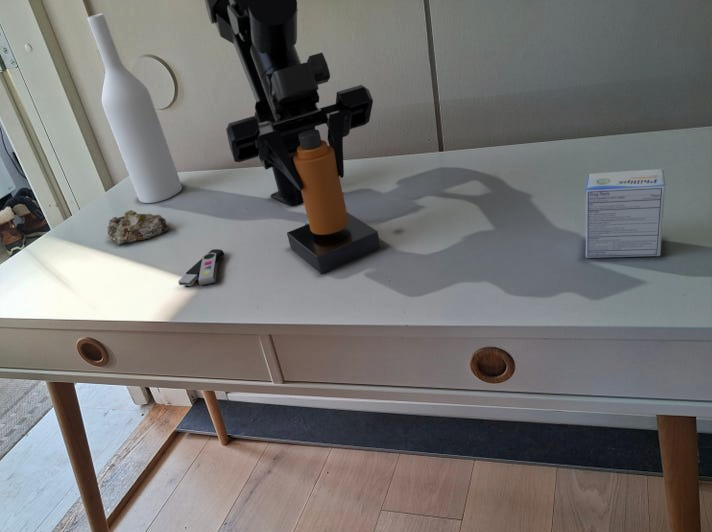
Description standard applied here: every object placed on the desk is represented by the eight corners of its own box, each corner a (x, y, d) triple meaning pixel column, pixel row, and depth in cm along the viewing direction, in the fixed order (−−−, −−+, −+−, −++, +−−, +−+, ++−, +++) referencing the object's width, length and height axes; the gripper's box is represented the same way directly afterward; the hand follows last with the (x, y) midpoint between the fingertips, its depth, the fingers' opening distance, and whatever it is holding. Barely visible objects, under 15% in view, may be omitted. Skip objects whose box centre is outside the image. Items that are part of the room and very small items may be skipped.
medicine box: (659, 238, 81) (664, 167, 76) (660, 258, 78) (666, 185, 73) (587, 240, 84) (587, 172, 79) (585, 259, 81) (585, 189, 76)
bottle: (189, 189, 126) (127, 9, 109) (148, 207, 123) (78, 24, 106) (172, 180, 132) (110, 7, 115) (132, 197, 129) (63, 22, 112)
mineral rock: (91, 236, 111) (110, 201, 116) (105, 255, 114) (123, 221, 119) (151, 233, 108) (168, 198, 112) (163, 254, 111) (179, 219, 116)
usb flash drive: (212, 254, 102) (210, 248, 101) (242, 256, 99) (240, 249, 99) (178, 286, 96) (176, 279, 95) (209, 288, 93) (207, 281, 93)
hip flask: (381, 248, 93) (378, 231, 91) (321, 274, 91) (317, 256, 89) (341, 222, 102) (337, 205, 101) (285, 245, 100) (281, 228, 98)
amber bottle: (303, 233, 93) (280, 141, 86) (322, 215, 97) (301, 125, 89) (337, 236, 91) (316, 141, 84) (355, 217, 94) (336, 124, 87)
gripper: (205, 57, 82) (246, 175, 80) (354, 15, 84) (399, 129, 82) (216, 108, 93) (252, 213, 91) (348, 70, 95) (387, 172, 93)
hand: (321, 182), depth 89 cm, fingers closed on amber bottle, 5 cm apart
